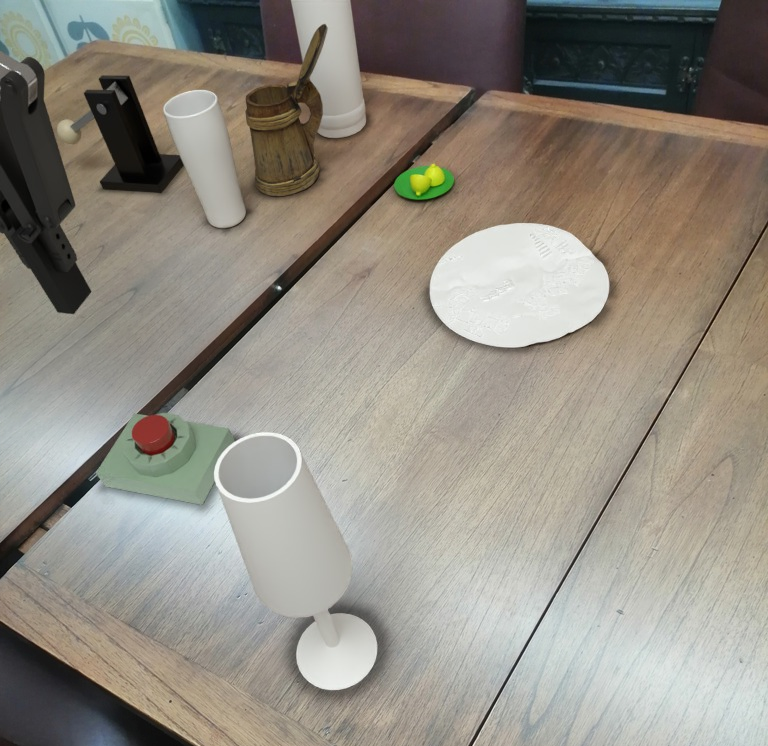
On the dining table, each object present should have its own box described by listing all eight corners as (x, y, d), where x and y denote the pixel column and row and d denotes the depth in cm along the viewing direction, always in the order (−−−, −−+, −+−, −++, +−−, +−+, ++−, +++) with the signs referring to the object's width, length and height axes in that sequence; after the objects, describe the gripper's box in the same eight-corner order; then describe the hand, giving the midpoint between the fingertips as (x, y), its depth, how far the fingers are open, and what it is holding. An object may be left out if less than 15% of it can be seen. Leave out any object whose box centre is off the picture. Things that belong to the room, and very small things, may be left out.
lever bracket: (102, 189, 102) (59, 98, 92) (128, 160, 107) (90, 69, 96) (161, 192, 100) (124, 99, 90) (185, 162, 104) (152, 70, 94)
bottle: (304, 133, 105) (251, -129, 80) (335, 108, 108) (293, -150, 84) (346, 143, 102) (303, -126, 77) (377, 118, 105) (345, -148, 80)
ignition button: (132, 452, 66) (124, 440, 65) (149, 424, 68) (142, 412, 67) (165, 457, 65) (157, 445, 64) (181, 429, 67) (175, 417, 66)
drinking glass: (198, 214, 95) (156, 100, 83) (244, 198, 96) (209, 83, 84) (210, 239, 92) (168, 123, 79) (258, 222, 93) (224, 105, 80)
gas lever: (66, 152, 102) (48, 132, 100) (77, 140, 104) (60, 120, 102) (121, 110, 94) (103, 88, 92) (132, 99, 95) (114, 76, 93)
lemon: (444, 206, 90) (443, 185, 87) (386, 201, 92) (384, 181, 90) (460, 172, 94) (460, 151, 91) (405, 168, 96) (403, 148, 94)
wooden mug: (351, 186, 95) (327, 39, 80) (255, 200, 96) (214, 57, 81) (349, 153, 100) (326, 8, 85) (257, 166, 101) (219, 26, 86)
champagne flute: (387, 674, 54) (334, 495, 35) (305, 701, 54) (204, 535, 34) (365, 602, 58) (305, 404, 39) (288, 627, 58) (188, 439, 38)
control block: (105, 486, 69) (86, 461, 66) (142, 427, 73) (126, 400, 70) (202, 505, 66) (188, 480, 63) (235, 442, 70) (223, 415, 67)
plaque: (486, 215, 87) (486, 204, 85) (638, 261, 79) (641, 250, 78) (396, 315, 79) (395, 305, 78) (555, 377, 71) (556, 367, 70)
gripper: (-309, -54, 34) (-22, 325, 53) (-103, -64, 30) (123, 344, 50) (-198, -107, 38) (32, 264, 57) (-5, -121, 34) (170, 278, 54)
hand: (74, 301), depth 53 cm, fingers closed
